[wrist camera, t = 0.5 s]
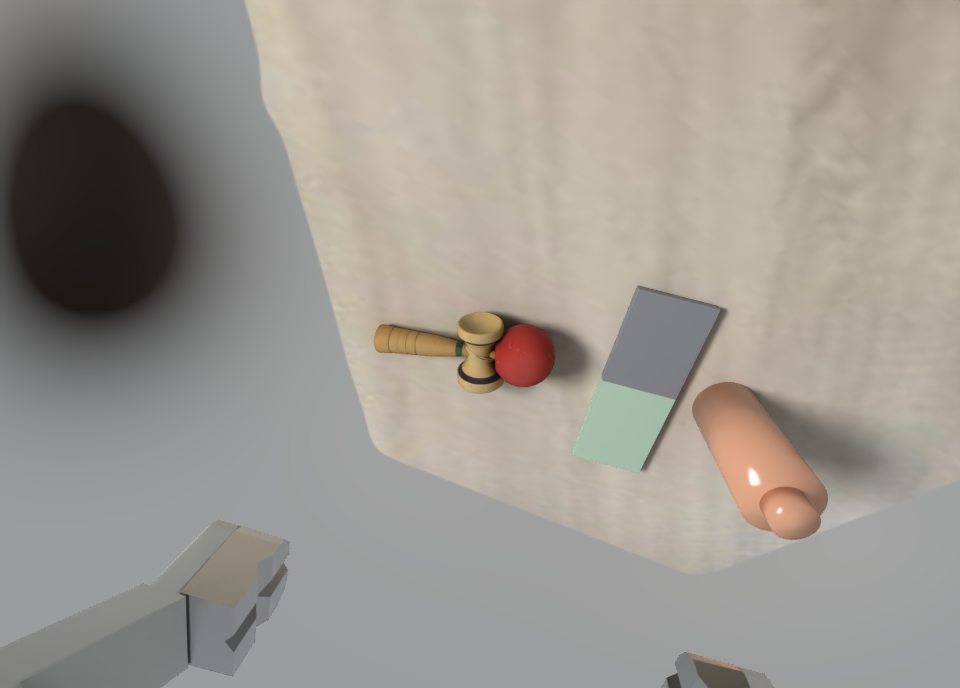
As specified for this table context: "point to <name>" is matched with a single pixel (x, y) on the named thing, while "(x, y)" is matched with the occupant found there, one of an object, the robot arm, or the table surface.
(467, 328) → the kendama
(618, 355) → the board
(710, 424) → the bottle
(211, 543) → the robot arm
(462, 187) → the table surface
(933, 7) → the table surface
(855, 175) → the table surface
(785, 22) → the table surface
